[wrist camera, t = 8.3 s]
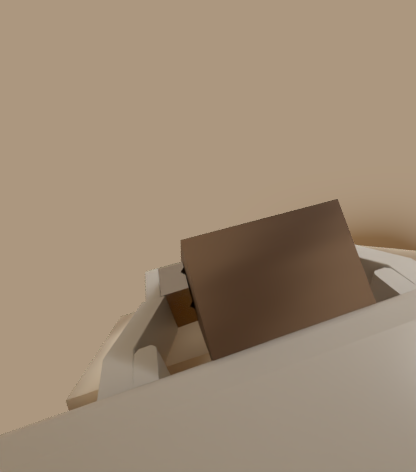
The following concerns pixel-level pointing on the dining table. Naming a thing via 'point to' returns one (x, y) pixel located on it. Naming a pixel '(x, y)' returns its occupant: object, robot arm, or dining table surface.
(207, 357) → the shelf
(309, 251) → the bar
